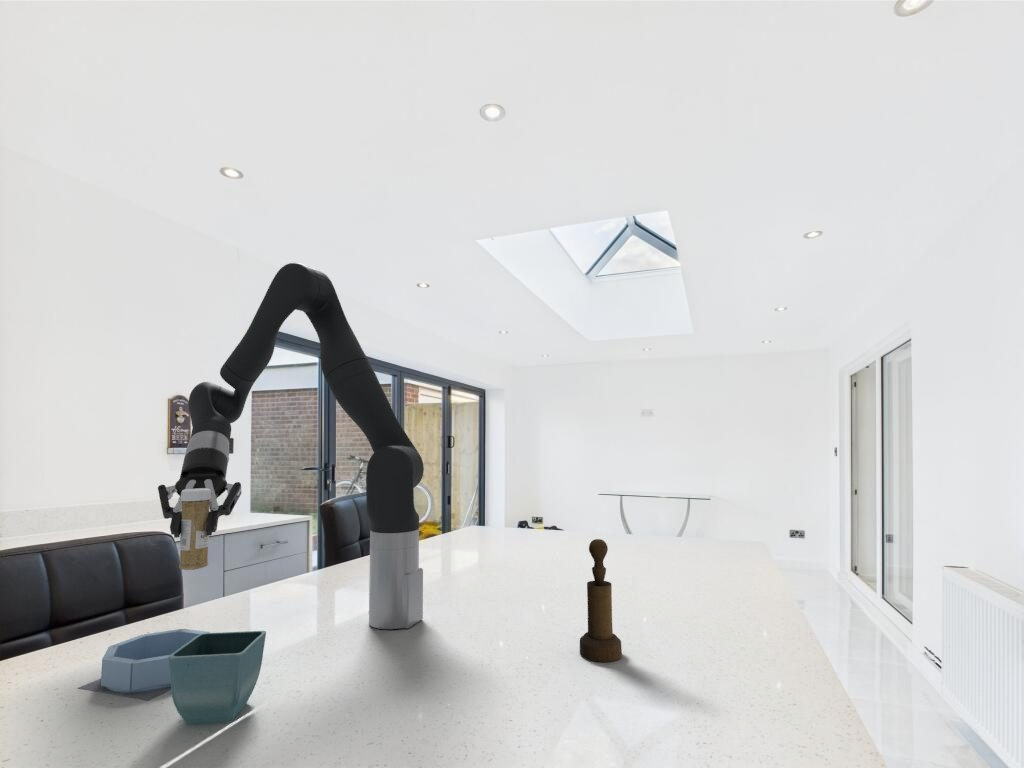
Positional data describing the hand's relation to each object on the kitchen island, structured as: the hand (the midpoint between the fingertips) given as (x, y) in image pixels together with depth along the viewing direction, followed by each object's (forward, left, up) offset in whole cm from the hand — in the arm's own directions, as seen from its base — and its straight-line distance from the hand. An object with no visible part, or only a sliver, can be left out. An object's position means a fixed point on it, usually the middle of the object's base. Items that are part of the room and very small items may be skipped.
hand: (192, 533), depth 97 cm
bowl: (-6, +11, -18) cm, 22 cm away
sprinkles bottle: (+1, -2, -6) cm, 7 cm away
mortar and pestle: (-67, -16, -19) cm, 71 cm away
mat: (-6, +11, -19) cm, 22 cm away
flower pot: (-24, +18, -19) cm, 35 cm away
